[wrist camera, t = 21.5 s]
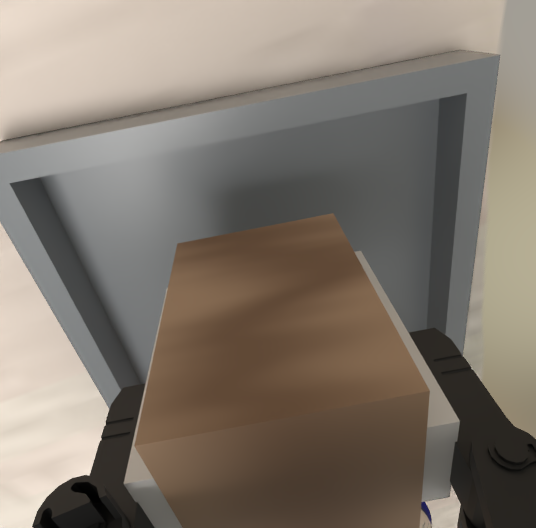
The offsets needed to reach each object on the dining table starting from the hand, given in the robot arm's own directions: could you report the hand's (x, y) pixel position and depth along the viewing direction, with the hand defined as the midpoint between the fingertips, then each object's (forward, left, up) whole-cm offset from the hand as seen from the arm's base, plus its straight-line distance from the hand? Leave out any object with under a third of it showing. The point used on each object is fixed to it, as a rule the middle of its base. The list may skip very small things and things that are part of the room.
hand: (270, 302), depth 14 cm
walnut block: (0, 0, 0) cm, 0 cm away
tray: (-6, 0, -6) cm, 8 cm away
